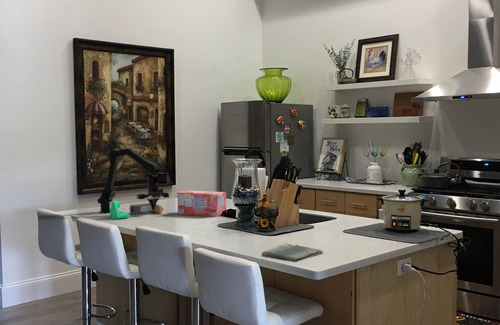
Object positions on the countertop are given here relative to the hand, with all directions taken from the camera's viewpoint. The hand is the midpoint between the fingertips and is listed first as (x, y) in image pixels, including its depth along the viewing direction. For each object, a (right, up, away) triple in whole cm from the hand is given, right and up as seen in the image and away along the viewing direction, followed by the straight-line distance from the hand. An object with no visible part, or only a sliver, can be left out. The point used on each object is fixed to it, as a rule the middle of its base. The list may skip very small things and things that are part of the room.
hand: (153, 209), depth 343 cm
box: (+30, -2, -7) cm, 31 cm away
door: (+3, -2, +1) cm, 4 cm away
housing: (-7, -2, +5) cm, 9 cm away
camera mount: (-17, -4, -13) cm, 22 cm away
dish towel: (+76, -9, -115) cm, 138 cm away
